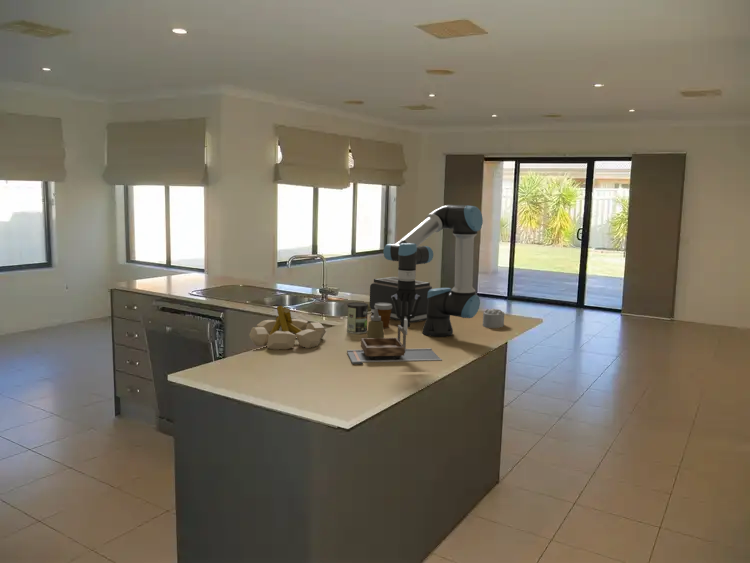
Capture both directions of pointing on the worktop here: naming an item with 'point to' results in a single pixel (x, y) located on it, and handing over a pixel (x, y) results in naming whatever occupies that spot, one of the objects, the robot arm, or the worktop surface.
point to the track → (409, 355)
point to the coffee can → (357, 318)
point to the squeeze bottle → (375, 326)
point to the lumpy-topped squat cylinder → (493, 318)
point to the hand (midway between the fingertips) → (404, 334)
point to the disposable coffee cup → (384, 313)
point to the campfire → (286, 332)
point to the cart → (384, 346)
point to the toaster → (388, 287)
